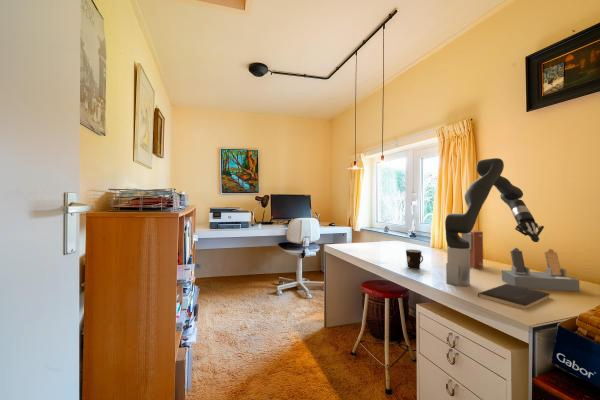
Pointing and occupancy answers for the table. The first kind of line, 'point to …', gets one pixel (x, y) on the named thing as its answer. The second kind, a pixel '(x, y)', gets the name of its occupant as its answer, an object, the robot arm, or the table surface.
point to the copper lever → (553, 261)
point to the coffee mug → (414, 258)
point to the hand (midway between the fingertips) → (536, 241)
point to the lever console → (540, 280)
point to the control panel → (475, 247)
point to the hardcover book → (514, 296)
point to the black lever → (518, 260)
